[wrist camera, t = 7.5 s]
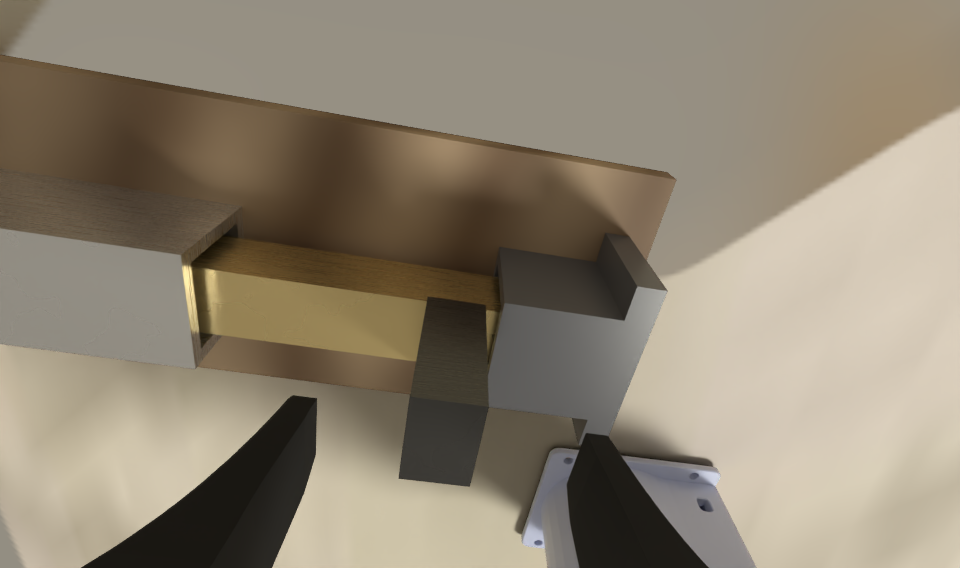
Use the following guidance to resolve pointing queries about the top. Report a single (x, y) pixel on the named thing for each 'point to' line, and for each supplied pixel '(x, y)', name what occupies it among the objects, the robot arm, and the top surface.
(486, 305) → the inner sliding bolt
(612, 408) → the socket
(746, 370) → the top surface
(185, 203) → the sleeve
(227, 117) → the base board
